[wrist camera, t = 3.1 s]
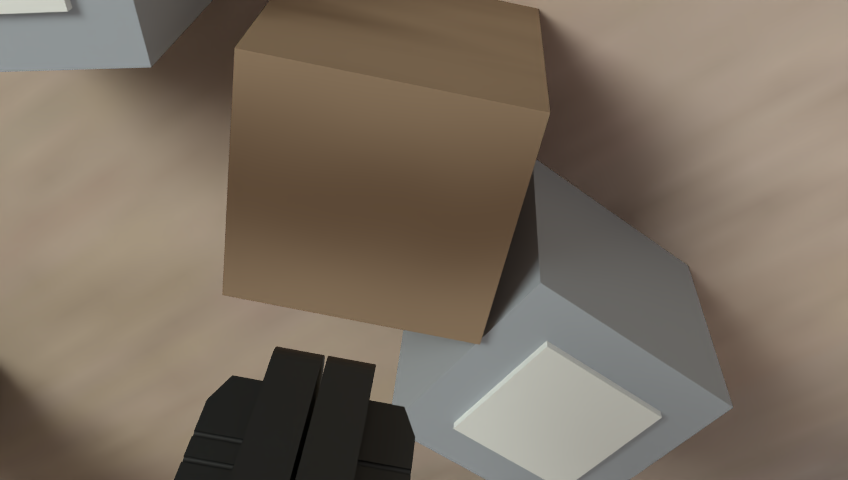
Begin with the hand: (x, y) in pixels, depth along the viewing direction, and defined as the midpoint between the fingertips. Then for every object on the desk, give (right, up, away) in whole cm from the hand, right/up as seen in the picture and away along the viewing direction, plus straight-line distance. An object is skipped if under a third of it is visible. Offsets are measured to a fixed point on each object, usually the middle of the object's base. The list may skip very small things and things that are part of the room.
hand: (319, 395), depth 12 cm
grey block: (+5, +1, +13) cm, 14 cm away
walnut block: (+1, +6, +10) cm, 12 cm away
